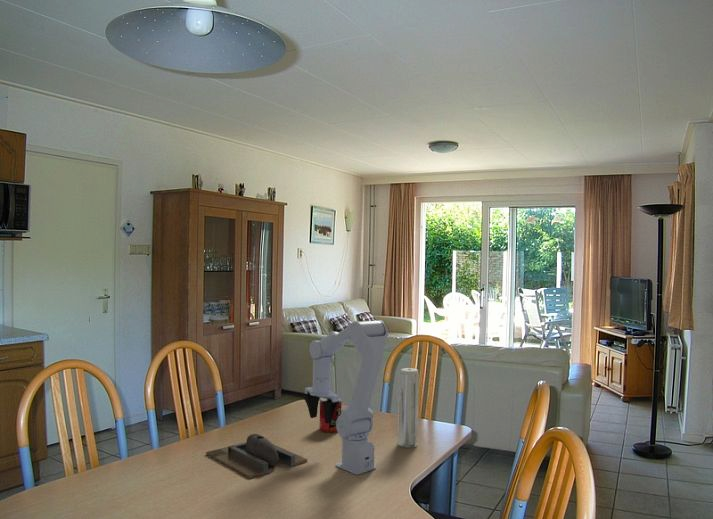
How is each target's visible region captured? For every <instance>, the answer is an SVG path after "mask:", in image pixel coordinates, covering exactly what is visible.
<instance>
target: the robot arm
mask: <svg viewBox="0 0 713 519" xmlns="http://www.w3.org/2000/svg"><path fill="white" fill-rule="evenodd" d="M388 337H389V331H388V328H387V326H386V324H385V322H384V321H383V320H381V319H376V320H363V321H357V320H355V321H353V322H349V323H348V326H347V327H345V328H344V329H342V330H341V331H335V330H333V331H329V334H328V335H325V336H322V337H321V339H320V340H315V339H313V340H312V341H311V342H310V344H309V349H308V350H309V354H310V357H311V358H312V386H307V387H305V388H304V394H306V395H304V396H303V399H304V402H305V404H306V406H307V409H308V413H309V417H310V419H314V418H315V419H316V418H317V417H318V416H317V415H318V407H319V403H320V398H324V399H327V401H322V404H323V407H324V413H325V423H331V422H332V419H333V415H334V412H335V410H336V407H337V406H338V404H339V401H338V397H339V394H337V393H334V392H333V391H331V377H332V375H331V368H332V367H331V365H332V363H333V358H334V356H335V353H337V352H339V351H340V350H343V348H344V347H345V344H346V343H347V342H350V341H351V342H352V344H353V346H354V348H355V350H356V352H357V353H358V354H359V355H360V356H361V357H362V360H361V364H360V368H359V371H358V373H357V374H358V375H357V378H356V382H355V386H354V389H353V392H352V396H351V400H350V403H349V404H348V405H347V406H346V407H344V408H343V409H341V415H340V416H339V417H338V419H337V422H336V429H337V432H336V433H338V435H339V437H340V438H341V462H337V463H335V467H337V468H340V469H342V470H344V471H347V472H349V473H351V474H353V475H357V476H358V475H360V474H361V475H362V474H364V473H366V472H370V471H372V470H376V468H377V466H375V445H374V443H373V442H372V441H370V440H369V438H368V437H369V436H370V432H372V429H373V426H374V416H375V414H374V412H373V410H372V409H371V407H370V404H371V400H372V398H373V394H374V390H375V387H376V383H377V380H378V377H379V374H380V370H381V366H382V363H383V360H384V354H385V352H384V351H385V347H386V344H387V340H388Z"/></svg>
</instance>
